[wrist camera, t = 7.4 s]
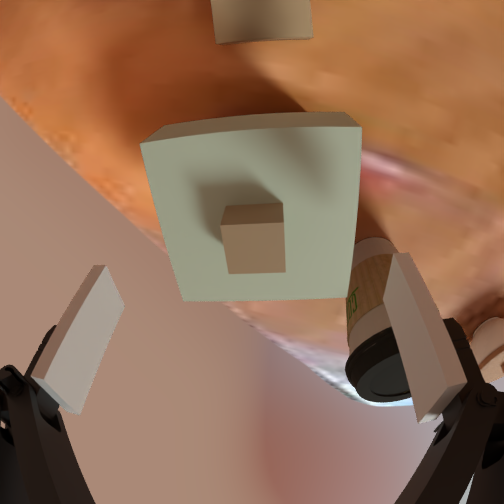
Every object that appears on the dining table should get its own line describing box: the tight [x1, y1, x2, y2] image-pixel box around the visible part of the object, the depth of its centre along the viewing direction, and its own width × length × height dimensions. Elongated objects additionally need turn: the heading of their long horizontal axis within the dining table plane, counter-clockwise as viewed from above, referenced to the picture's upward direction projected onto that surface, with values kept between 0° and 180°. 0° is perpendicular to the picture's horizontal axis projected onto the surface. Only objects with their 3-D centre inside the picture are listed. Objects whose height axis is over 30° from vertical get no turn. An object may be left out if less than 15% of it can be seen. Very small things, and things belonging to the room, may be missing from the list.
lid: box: [140, 112, 362, 301], centre depth 18 cm, size 11×11×6 cm
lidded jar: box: [470, 317, 504, 383], centre depth 35 cm, size 11×11×9 cm
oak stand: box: [211, 0, 313, 45], centre depth 17 cm, size 7×7×3 cm
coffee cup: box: [345, 237, 439, 402], centre depth 26 cm, size 10×10×15 cm
